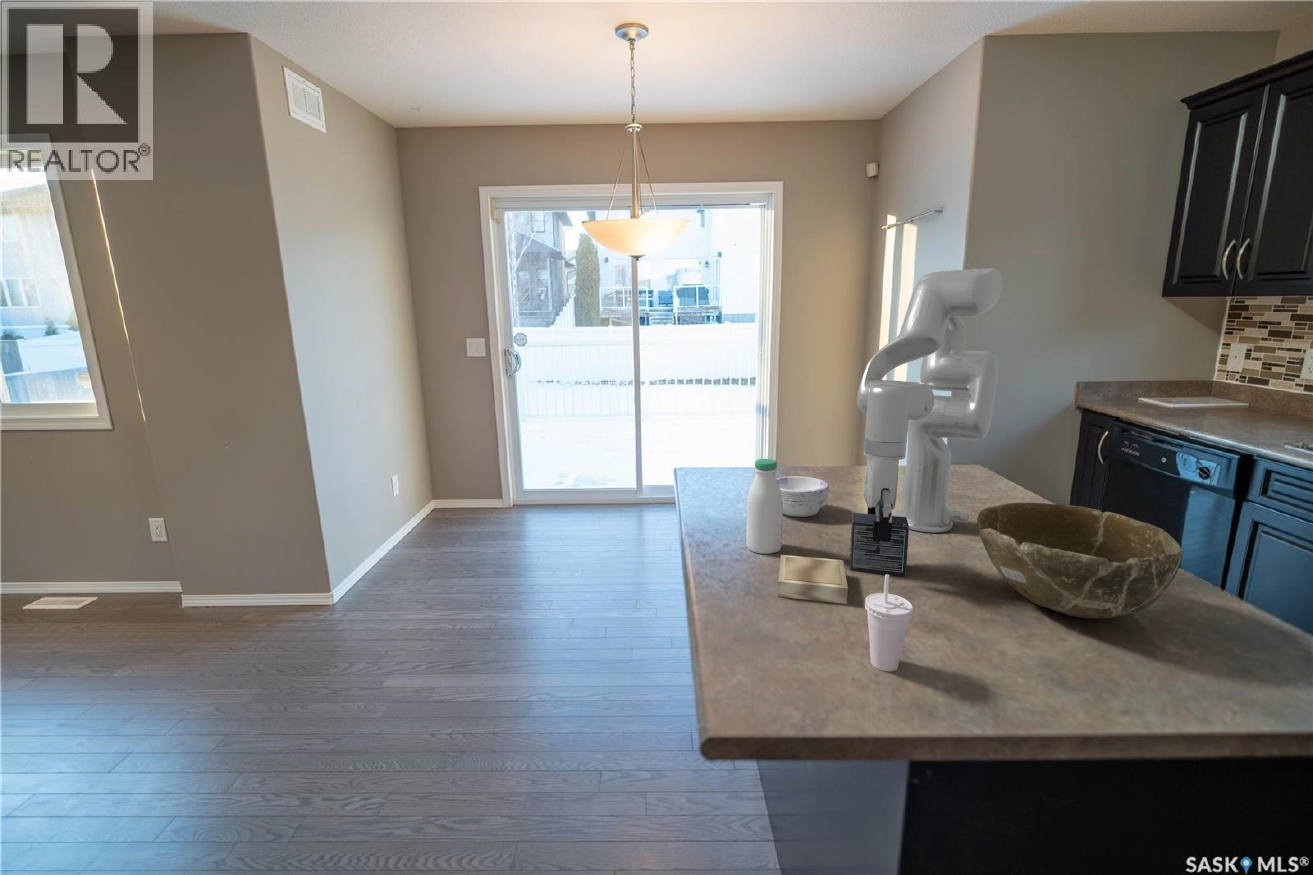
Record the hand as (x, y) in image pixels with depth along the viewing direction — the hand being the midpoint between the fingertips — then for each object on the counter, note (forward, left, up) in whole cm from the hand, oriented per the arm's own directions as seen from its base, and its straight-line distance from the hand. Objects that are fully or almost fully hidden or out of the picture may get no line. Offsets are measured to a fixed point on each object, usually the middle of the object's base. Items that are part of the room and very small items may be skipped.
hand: (878, 532), depth 110 cm
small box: (0, -1, -8) cm, 8 cm away
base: (+13, +10, -8) cm, 18 cm away
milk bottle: (+23, -6, -8) cm, 25 cm away
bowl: (-29, +9, -8) cm, 32 cm away
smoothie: (+3, +33, -8) cm, 34 cm away
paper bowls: (+16, -32, -8) cm, 36 cm away
